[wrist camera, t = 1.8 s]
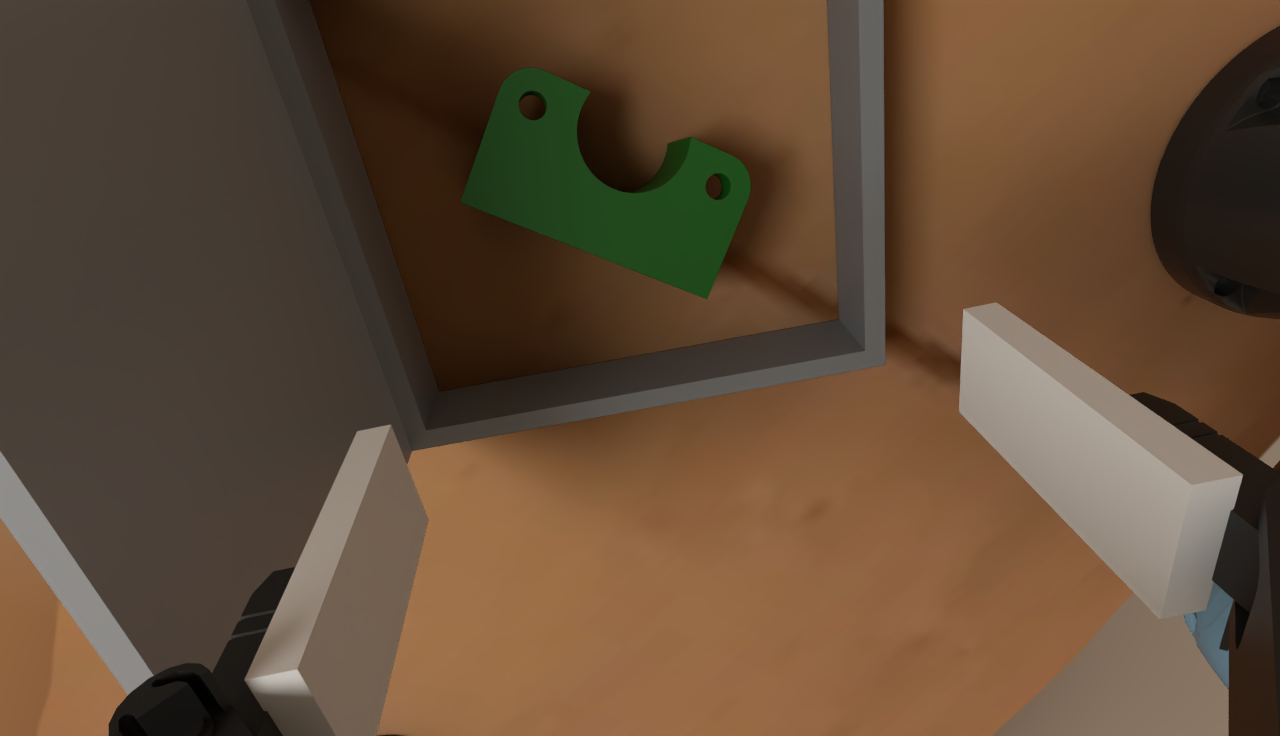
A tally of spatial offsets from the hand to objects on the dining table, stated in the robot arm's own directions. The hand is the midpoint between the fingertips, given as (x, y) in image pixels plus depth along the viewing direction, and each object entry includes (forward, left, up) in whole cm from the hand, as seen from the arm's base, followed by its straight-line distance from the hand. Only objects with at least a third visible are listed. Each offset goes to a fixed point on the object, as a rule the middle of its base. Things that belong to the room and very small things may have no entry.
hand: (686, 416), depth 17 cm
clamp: (+1, -1, -21) cm, 21 cm away
